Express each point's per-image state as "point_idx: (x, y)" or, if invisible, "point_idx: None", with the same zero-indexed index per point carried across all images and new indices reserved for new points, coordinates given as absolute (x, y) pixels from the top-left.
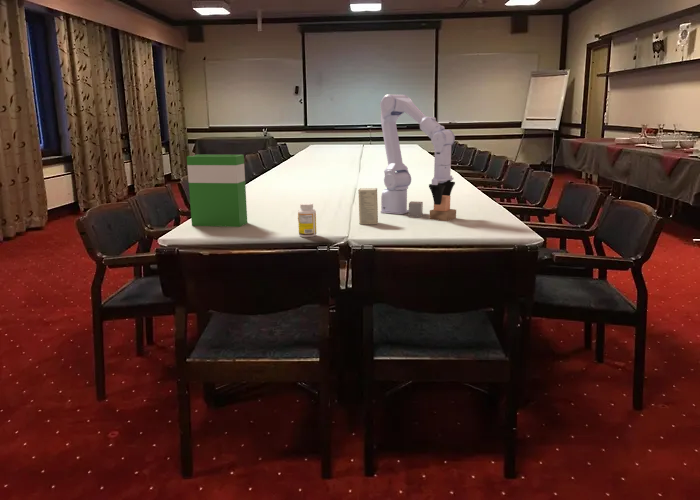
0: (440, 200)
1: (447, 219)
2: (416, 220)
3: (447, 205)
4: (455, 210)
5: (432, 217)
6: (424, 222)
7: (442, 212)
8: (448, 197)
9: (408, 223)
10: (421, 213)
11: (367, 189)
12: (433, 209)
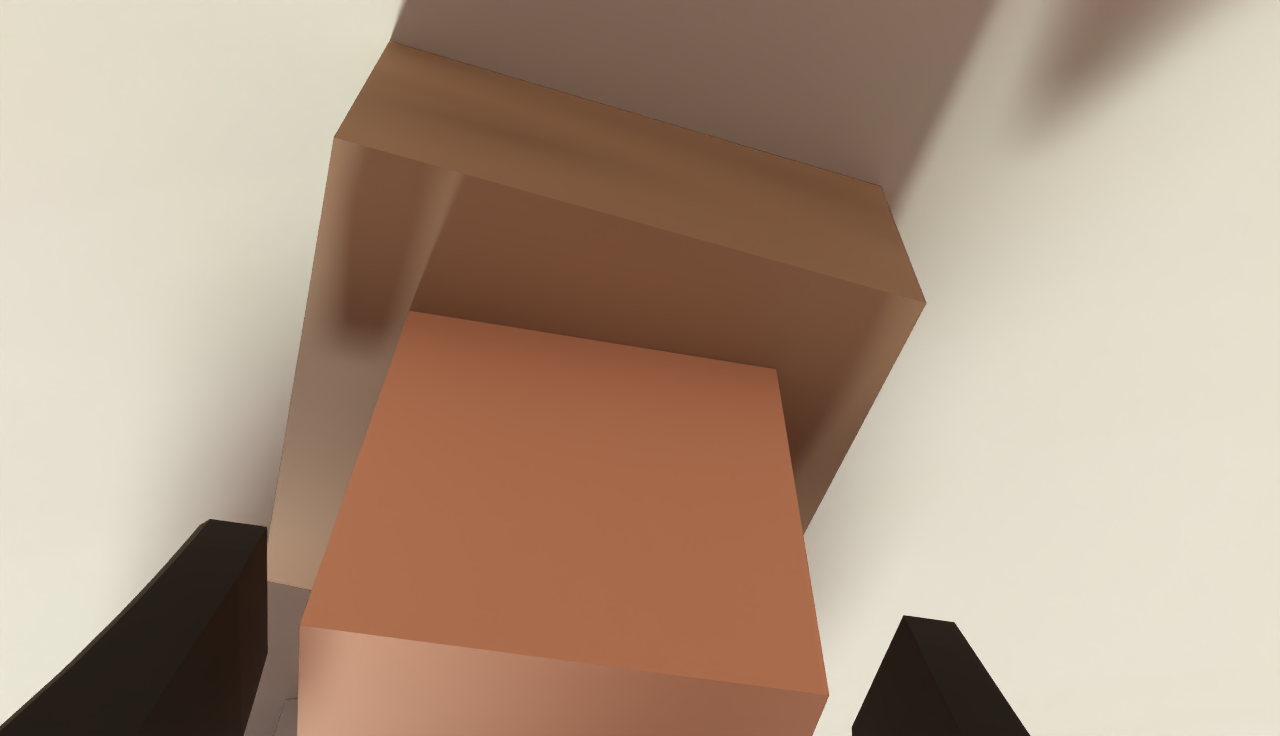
0: (1018, 724)
1: (857, 194)
2: None
3: (627, 438)
4: (397, 144)
5: None
6: (1100, 547)
7: (859, 409)
8: (546, 625)
9: (1213, 725)
10: None
11: None
12: None
